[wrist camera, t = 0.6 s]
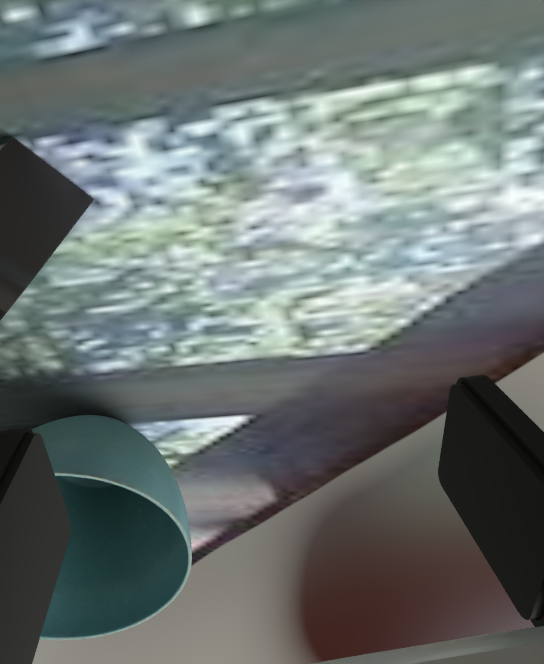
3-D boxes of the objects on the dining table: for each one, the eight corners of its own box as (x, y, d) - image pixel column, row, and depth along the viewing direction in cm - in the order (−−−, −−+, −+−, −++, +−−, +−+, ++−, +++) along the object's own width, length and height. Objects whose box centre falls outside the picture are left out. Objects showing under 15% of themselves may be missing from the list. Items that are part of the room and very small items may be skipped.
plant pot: (-47, 471, 44) (-125, 601, 33) (52, 331, 38) (-4, 432, 28) (127, 537, 51) (108, 661, 40) (230, 427, 46) (240, 536, 35)
